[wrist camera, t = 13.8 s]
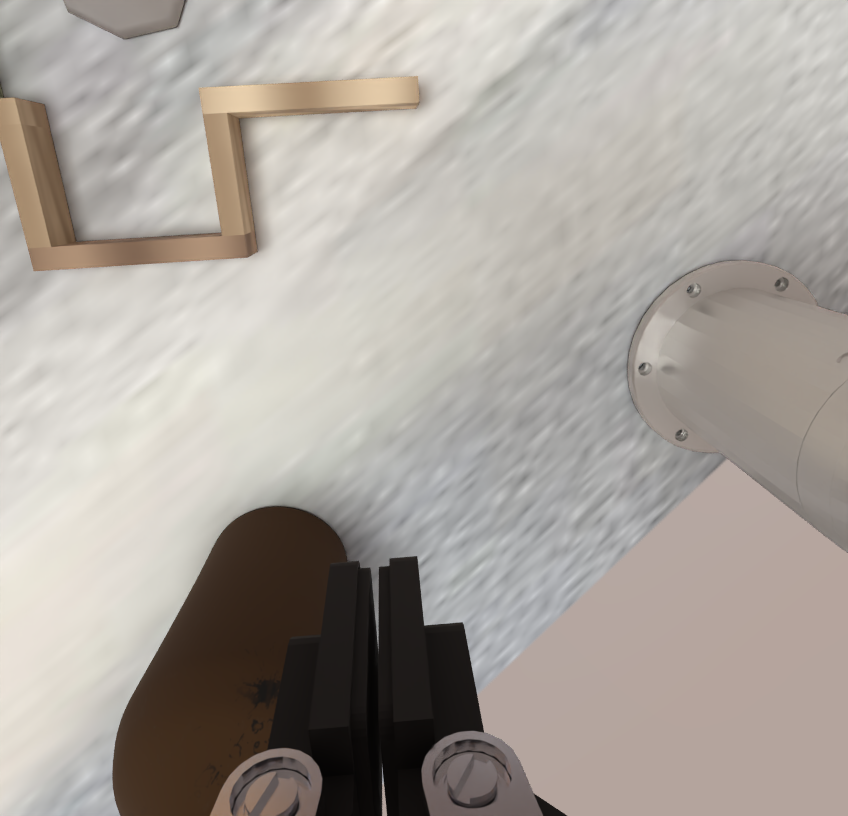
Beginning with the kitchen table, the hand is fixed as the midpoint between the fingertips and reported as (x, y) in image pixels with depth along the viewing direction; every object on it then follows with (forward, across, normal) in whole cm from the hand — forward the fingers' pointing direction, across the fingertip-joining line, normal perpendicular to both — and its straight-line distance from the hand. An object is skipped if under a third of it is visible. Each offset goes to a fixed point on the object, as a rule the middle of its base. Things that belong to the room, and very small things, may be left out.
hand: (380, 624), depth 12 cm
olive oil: (+29, +8, +17) cm, 35 cm away
